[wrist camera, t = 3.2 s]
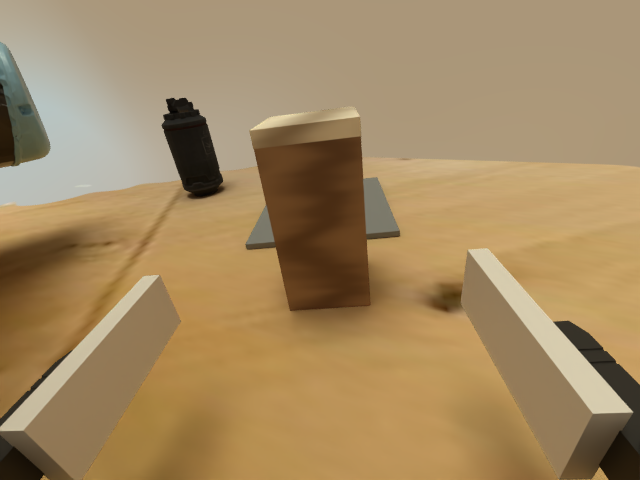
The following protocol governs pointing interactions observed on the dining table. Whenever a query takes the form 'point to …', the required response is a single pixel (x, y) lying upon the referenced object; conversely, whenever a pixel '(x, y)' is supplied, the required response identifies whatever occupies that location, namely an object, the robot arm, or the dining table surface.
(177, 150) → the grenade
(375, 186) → the mat
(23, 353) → the dining table surface
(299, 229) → the block
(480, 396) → the dining table surface
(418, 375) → the dining table surface
